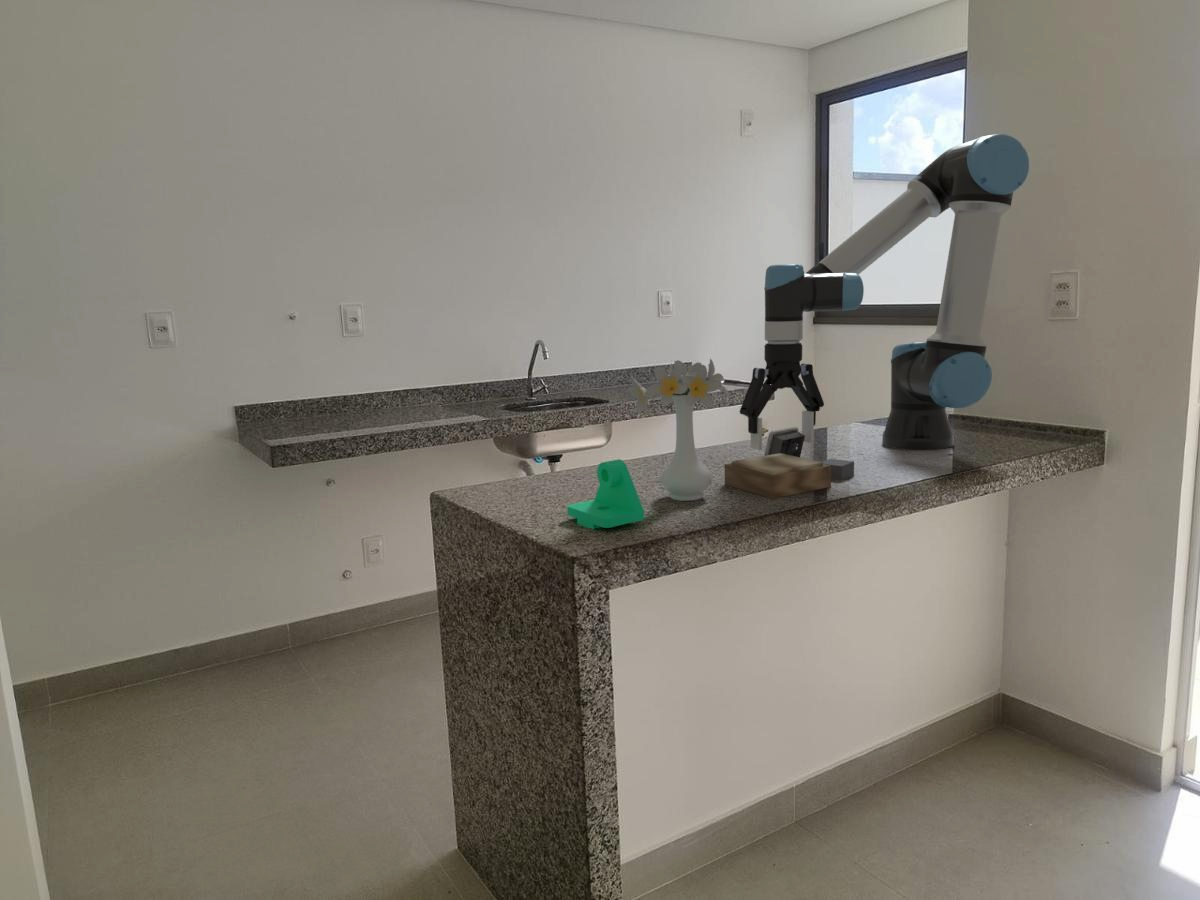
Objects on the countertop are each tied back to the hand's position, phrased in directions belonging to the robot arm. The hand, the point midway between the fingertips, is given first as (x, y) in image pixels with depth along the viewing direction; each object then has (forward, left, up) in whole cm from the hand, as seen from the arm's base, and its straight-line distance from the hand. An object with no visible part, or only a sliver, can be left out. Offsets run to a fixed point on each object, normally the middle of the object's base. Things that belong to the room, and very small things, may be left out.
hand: (782, 445), depth 178 cm
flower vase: (+31, +9, -5) cm, 32 cm away
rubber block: (-2, +13, -5) cm, 14 cm away
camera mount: (+50, +14, -5) cm, 52 cm away
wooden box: (+12, +12, -5) cm, 17 cm away
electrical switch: (0, 0, -5) cm, 5 cm away
